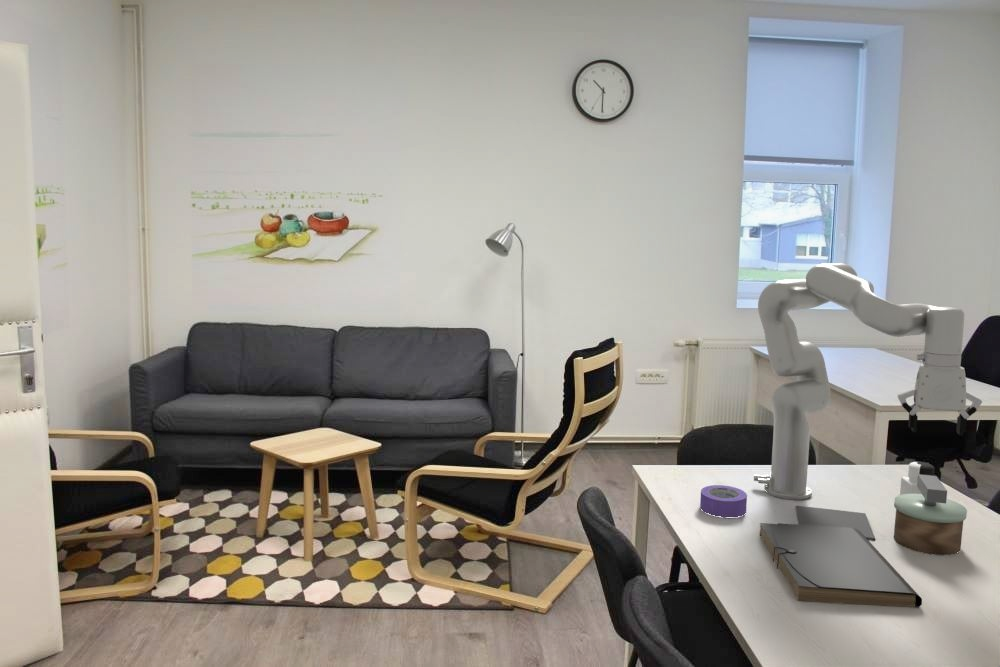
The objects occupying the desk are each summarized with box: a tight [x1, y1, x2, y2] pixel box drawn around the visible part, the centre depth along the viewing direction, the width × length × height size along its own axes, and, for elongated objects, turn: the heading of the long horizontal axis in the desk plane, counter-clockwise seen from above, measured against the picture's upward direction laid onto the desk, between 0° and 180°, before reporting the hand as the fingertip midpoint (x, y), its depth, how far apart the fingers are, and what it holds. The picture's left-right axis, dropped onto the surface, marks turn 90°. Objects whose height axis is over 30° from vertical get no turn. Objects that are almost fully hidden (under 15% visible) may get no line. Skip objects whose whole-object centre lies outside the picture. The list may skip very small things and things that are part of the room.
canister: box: [893, 508, 964, 556], centre depth 183 cm, size 14×14×8 cm
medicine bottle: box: [899, 461, 936, 495], centre depth 206 cm, size 7×7×12 cm
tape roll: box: [699, 484, 748, 517], centre depth 203 cm, size 12×12×5 cm
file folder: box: [759, 522, 923, 608], centre depth 170 cm, size 33×4×24 cm
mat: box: [795, 504, 876, 541], centre depth 195 cm, size 17×17×1 cm
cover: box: [893, 474, 968, 523], centre depth 182 cm, size 15×15×7 cm
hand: (936, 432), depth 180 cm, fingers open, 9 cm apart
